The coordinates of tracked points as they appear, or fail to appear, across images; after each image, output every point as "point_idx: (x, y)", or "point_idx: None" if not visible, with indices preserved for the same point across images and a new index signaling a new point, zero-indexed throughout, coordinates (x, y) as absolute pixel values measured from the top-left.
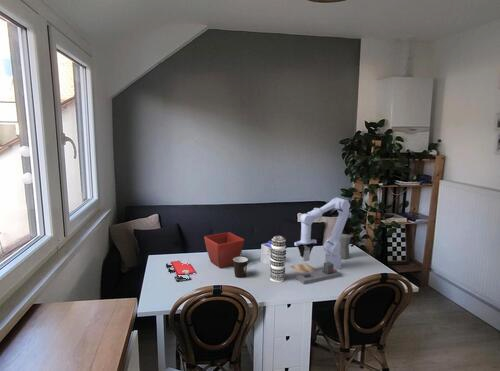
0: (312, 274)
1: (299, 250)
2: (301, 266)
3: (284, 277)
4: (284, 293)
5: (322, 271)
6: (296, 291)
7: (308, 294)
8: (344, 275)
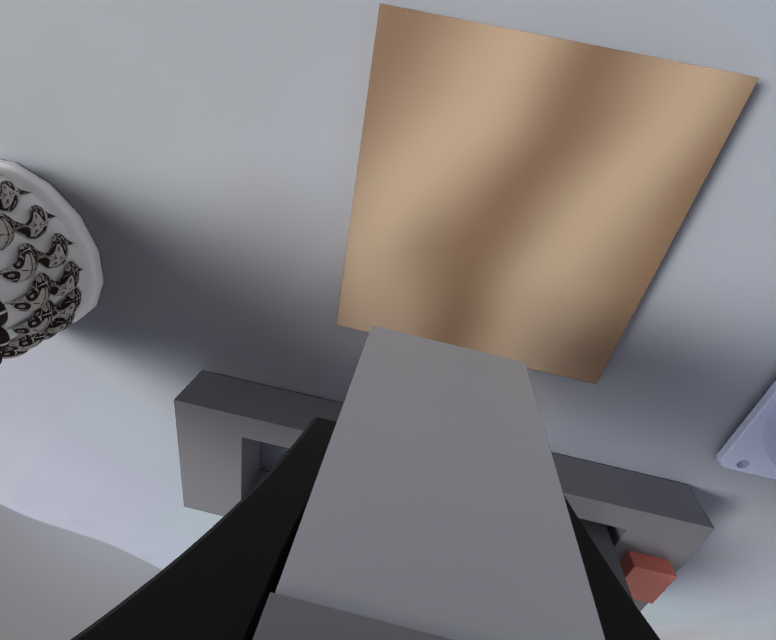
0: None
1: (201, 555)
2: (544, 153)
3: (56, 330)
4: (4, 460)
5: None
6: (102, 490)
7: (161, 550)
8: (690, 578)
